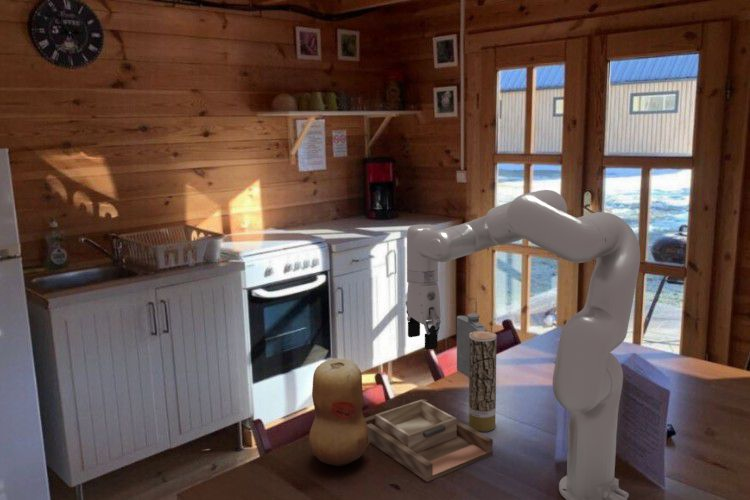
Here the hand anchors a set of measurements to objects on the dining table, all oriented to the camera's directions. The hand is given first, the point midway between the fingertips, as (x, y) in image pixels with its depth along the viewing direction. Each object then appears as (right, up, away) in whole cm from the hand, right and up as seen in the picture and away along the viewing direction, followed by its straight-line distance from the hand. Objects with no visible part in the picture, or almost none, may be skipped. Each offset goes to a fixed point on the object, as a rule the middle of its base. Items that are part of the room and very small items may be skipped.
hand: (422, 342), depth 163 cm
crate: (-1, -24, +1) cm, 24 cm away
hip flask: (+18, -17, +40) cm, 47 cm away
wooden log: (+16, -23, +8) cm, 29 cm away
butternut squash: (-20, -27, -8) cm, 35 cm away
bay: (+1, -25, -1) cm, 25 cm away
